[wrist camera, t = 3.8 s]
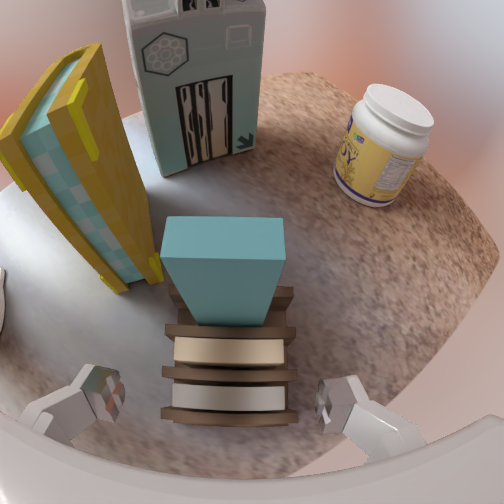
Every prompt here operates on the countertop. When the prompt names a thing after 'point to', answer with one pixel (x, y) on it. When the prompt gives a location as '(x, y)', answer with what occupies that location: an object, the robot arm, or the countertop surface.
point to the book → (83, 168)
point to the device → (197, 76)
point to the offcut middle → (229, 353)
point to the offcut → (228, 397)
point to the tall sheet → (225, 266)
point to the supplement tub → (382, 145)
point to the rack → (225, 377)
